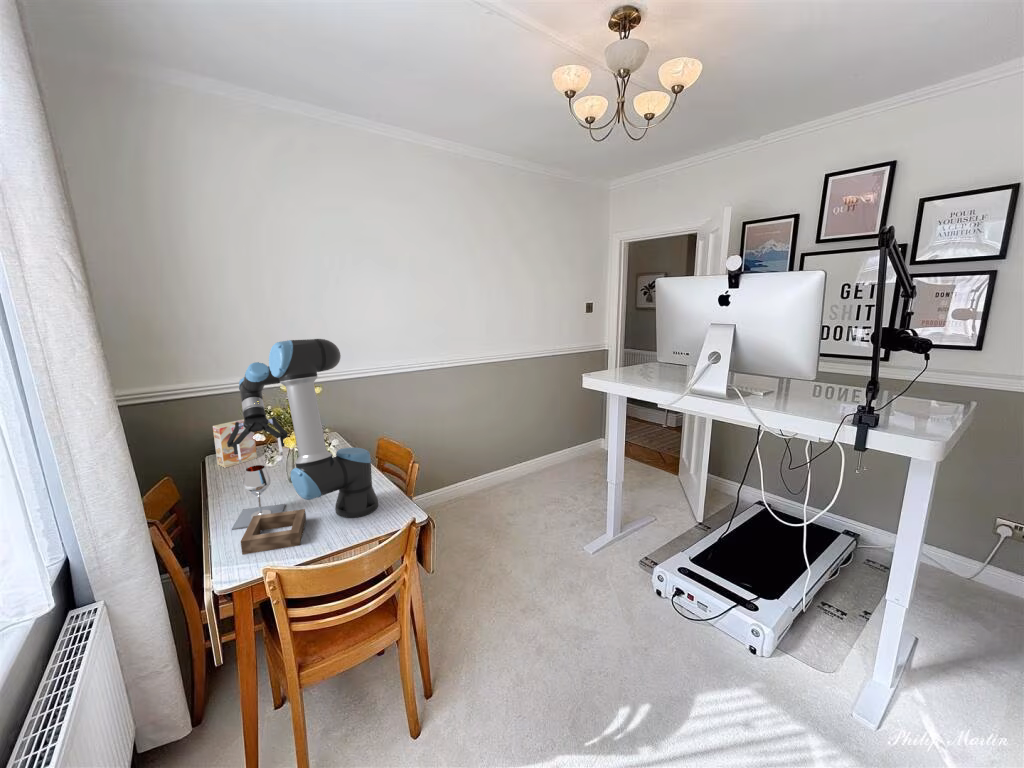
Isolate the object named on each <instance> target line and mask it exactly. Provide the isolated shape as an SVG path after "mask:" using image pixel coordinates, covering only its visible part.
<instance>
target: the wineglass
mask: <svg viewBox="0 0 1024 768" xmlns="http://www.w3.org/2000/svg"><path fill="white" fill-rule="evenodd" d="M270 485H271V477H270V475H269V472H268V470H267V468H266V466H265V465H263V464H259V465H258V464H257V465H256V464H255V465H252V466H249V467H246V469H245V473H244V478H243V489H244V490H245V491H246V492H247V493H249V494H250V495H254V496H255V497H257V503H258V507H259V511H257V512H255V513H253V514H252V515H251V518H253V516H258V515H265V514H271V511H270V510H262V507H263V506H262V501H261V496H262V495H263V493H265V491H267V489H268V488H269V486H270Z"/></svg>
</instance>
